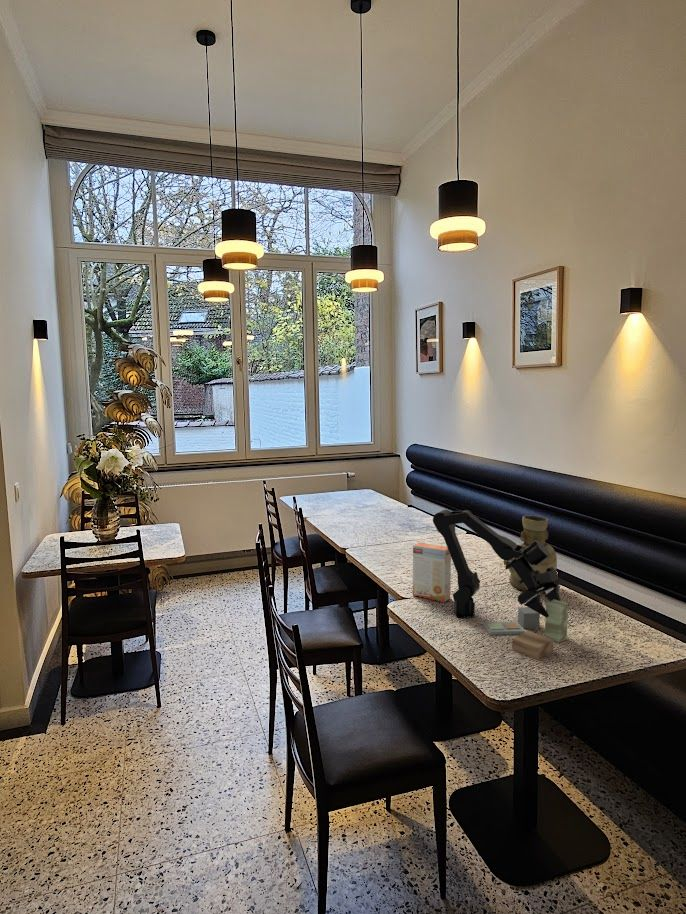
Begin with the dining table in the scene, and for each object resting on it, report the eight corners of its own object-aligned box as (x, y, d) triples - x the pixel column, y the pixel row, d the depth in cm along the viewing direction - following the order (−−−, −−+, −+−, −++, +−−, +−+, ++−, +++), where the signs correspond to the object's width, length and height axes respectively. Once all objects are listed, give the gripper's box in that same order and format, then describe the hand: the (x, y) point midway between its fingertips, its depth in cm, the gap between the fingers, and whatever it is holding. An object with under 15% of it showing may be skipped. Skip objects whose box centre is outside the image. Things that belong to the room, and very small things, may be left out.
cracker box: (450, 598, 230) (451, 546, 227) (444, 603, 225) (445, 550, 222) (418, 591, 238) (419, 541, 235) (411, 596, 233) (412, 544, 230)
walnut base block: (537, 660, 179) (538, 648, 178) (512, 650, 186) (512, 638, 185) (553, 651, 185) (553, 639, 184) (527, 642, 192) (528, 630, 191)
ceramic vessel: (502, 578, 254) (504, 510, 250) (554, 582, 248) (557, 513, 244) (501, 593, 236) (503, 520, 232) (557, 598, 229) (560, 523, 226)
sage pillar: (558, 642, 190) (560, 607, 189) (544, 637, 194) (546, 603, 193) (566, 638, 194) (568, 603, 192) (552, 633, 197) (554, 599, 196)
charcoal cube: (523, 628, 201) (524, 613, 201) (517, 622, 207) (518, 607, 206) (539, 628, 202) (539, 613, 201) (533, 621, 207) (533, 607, 207)
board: (489, 634, 196) (489, 631, 196) (482, 625, 204) (482, 621, 204) (524, 633, 197) (524, 630, 197) (516, 624, 205) (516, 620, 205)
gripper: (526, 566, 189) (557, 608, 182) (556, 555, 201) (586, 594, 194) (504, 583, 196) (533, 625, 189) (535, 572, 208) (563, 610, 201)
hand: (555, 613), depth 193 cm, fingers open, 9 cm apart
